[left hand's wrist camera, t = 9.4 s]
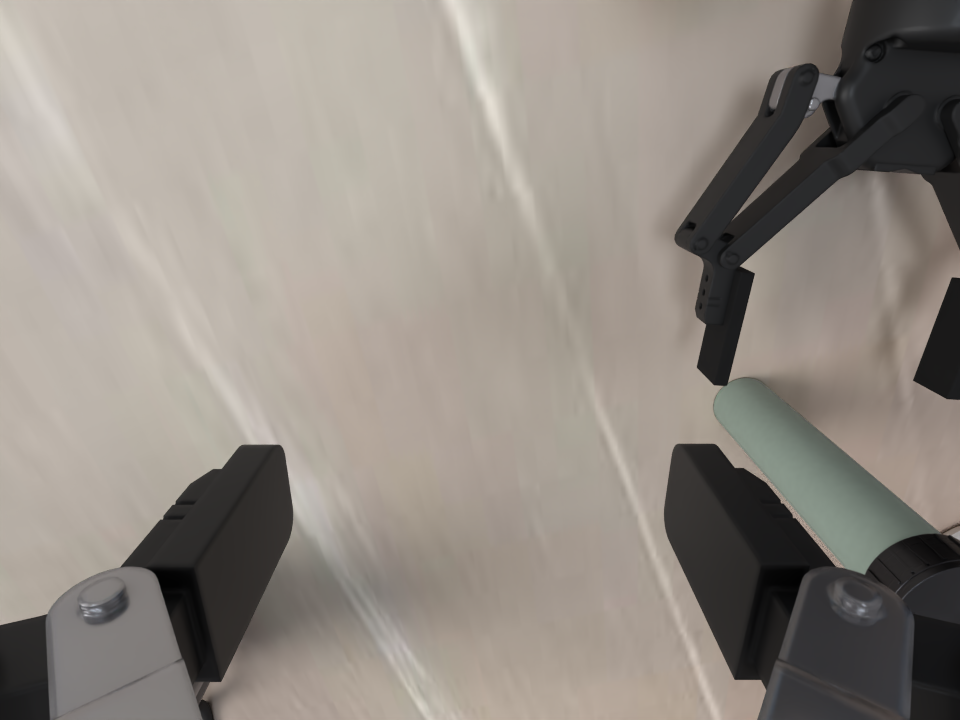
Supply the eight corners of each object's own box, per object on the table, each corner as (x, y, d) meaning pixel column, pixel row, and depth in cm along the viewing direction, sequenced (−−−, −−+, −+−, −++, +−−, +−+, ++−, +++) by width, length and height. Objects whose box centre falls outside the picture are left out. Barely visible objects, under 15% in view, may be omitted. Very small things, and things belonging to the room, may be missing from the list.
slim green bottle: (760, 368, 40) (987, 549, 22) (776, 414, 41) (1004, 620, 23) (705, 392, 40) (883, 587, 23) (723, 436, 42) (904, 654, 24)
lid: (963, 514, 23) (1006, 547, 21) (983, 595, 25) (1024, 631, 23) (847, 557, 24) (879, 592, 22) (874, 633, 26) (905, 671, 24)
